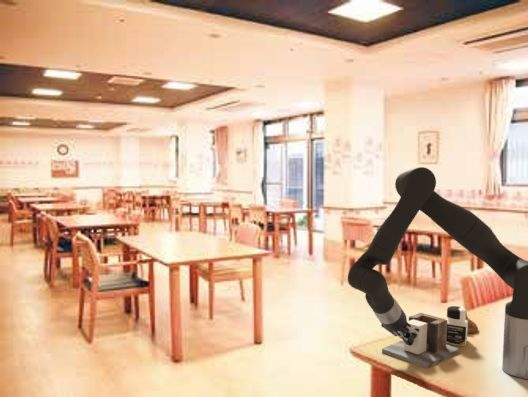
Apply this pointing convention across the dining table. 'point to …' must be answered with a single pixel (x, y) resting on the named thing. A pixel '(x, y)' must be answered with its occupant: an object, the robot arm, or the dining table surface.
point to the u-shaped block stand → (435, 343)
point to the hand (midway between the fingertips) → (410, 342)
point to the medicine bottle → (456, 326)
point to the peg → (418, 337)
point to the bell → (471, 326)
